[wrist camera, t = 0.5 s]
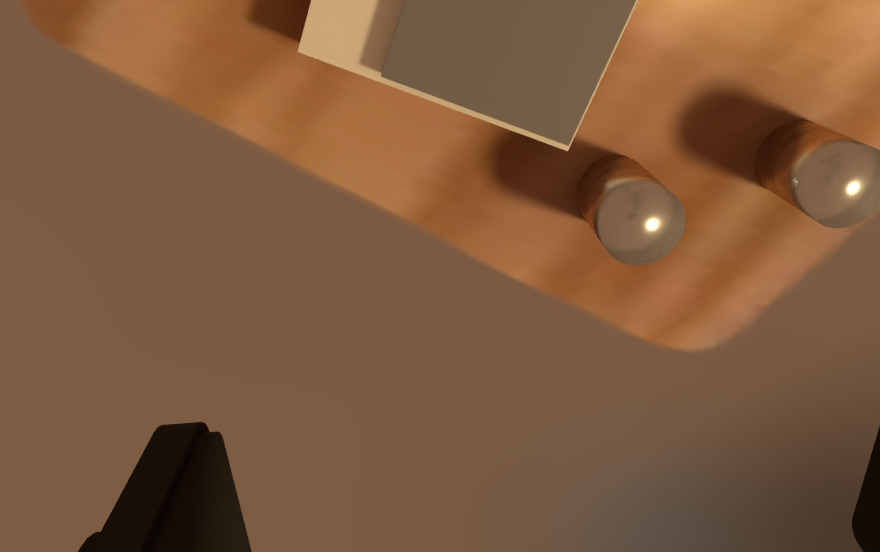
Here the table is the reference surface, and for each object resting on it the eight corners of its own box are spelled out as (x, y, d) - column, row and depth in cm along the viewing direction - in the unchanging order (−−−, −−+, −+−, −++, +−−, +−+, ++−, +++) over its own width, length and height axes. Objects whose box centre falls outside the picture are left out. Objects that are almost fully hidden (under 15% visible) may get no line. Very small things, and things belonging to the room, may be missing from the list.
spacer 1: (596, 145, 41) (626, 175, 35) (662, 170, 41) (701, 203, 36) (563, 213, 42) (587, 250, 37) (627, 235, 43) (659, 275, 38)
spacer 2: (782, 109, 40) (841, 134, 35) (845, 135, 41) (911, 163, 36) (741, 179, 42) (790, 213, 37) (801, 202, 43) (858, 238, 38)
